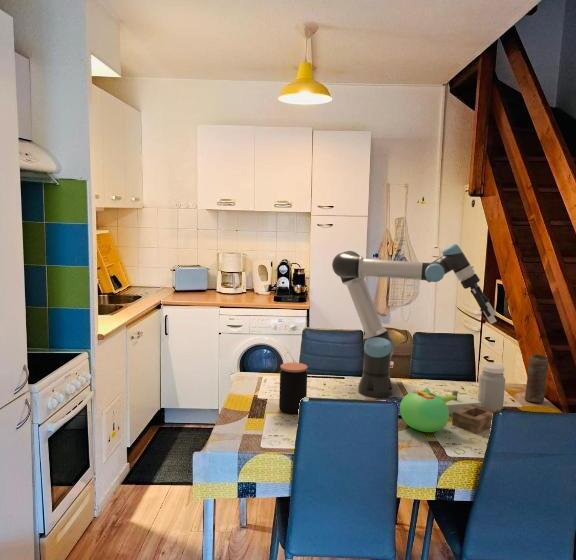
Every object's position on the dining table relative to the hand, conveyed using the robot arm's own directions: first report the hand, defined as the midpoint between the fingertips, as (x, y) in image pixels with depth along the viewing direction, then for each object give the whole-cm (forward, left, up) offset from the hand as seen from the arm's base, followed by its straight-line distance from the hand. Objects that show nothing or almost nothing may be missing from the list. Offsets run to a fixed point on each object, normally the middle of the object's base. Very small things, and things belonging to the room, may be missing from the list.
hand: (493, 319), depth 216 cm
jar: (-9, -14, -35) cm, 38 cm away
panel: (-24, -12, -35) cm, 44 cm away
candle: (+16, -10, -35) cm, 40 cm away
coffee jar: (-90, -2, -35) cm, 96 cm away
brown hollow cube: (-26, -28, -35) cm, 51 cm away
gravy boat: (-47, -28, -35) cm, 65 cm away
